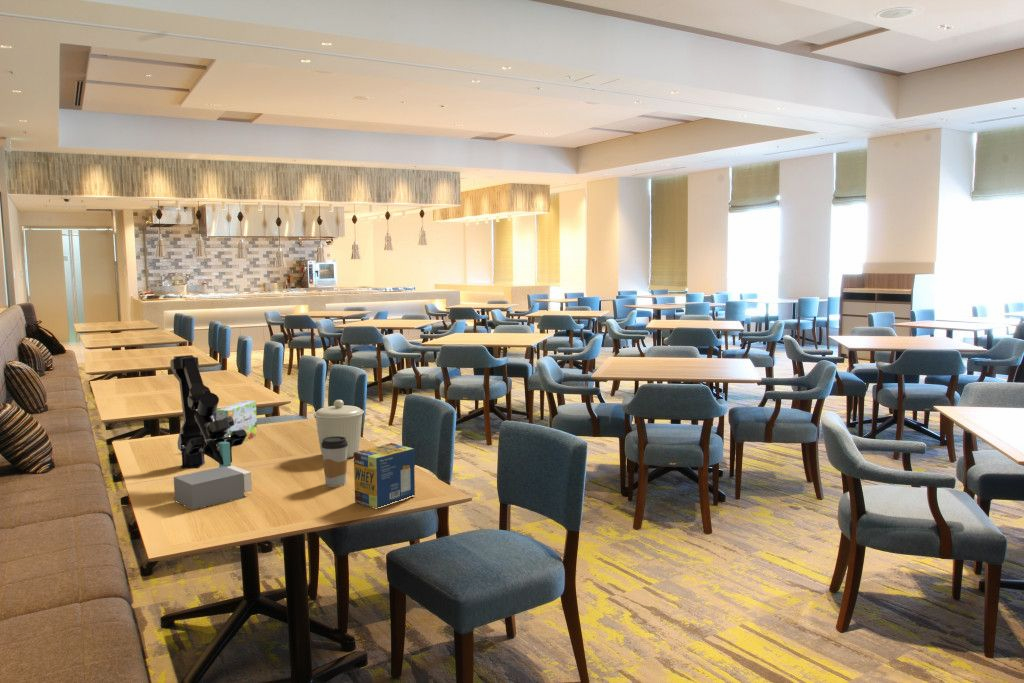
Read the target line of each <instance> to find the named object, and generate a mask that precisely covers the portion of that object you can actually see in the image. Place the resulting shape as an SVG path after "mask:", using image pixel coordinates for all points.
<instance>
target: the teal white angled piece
mask: <svg viewBox="0 0 1024 683" xmlns="http://www.w3.org/2000/svg"><path fill="white" fill-rule="evenodd" d="M217 449H218V451H219V453H220V455H221V457H222V459H223V462H224V464H223V465H221V464H220V463H218V467H223V466H225V467H228V468H230V469H233V470H236V471H238V472H241V473H243V479H244V493H247V492H252V491H253V489H252V488H253V487H252V486H253V484H252V483H253V482H252V472H251V471H248V470H246V469H243V468H240V467H238V466H235V465H231V464H232V462H231V459H230V443H229V442H226V441H224V442H219V443H218V447H217Z"/></svg>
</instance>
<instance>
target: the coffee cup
mask: <svg viewBox="0 0 1024 683" xmlns="http://www.w3.org/2000/svg"><path fill="white" fill-rule="evenodd" d="M347 446H348V444H347V441H346V438H345V437H341V436H334V437H327V438H324V439H323V442H322V446H321V447H322V452H323V454H322V464H323V473H324V480H325V481H324V482H325V485H326V486H327V487H329V486H330V487H329V488H338V487H337V486H340V487H342V486H341V485H343V486H344V484H345V485H346V483H347V469H348V468H347V466H348V458H347ZM322 452H321V453H322Z"/></svg>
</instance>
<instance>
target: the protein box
mask: <svg viewBox="0 0 1024 683" xmlns="http://www.w3.org/2000/svg"><path fill="white" fill-rule="evenodd" d="M415 476H416V475H415V448H412V447H408V446H406V445H401V444H397V443H393V442H390V443H386V444H383V445H379V446H376V447H375V446H374V447H370V448H367V449H362V450H359V451H358V452H354V456H353V478H354V479H353V480H354V481H353V482H354V502H355V503H356V502H358V503H357V504H359V503H361V504H360V505H362V504H364V505H363V506H365V505H367V506H366V507H368V506H371V507H374V508H378V507H381V506H384V505H387V504H390V503H392V502H395V501H399V500H401V499H404V498H407V497H409V496H412V495H415V496H416V493H415V492H416V486H415V482H416V481H415ZM371 507H370V508H371ZM374 508H373V509H374Z"/></svg>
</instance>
